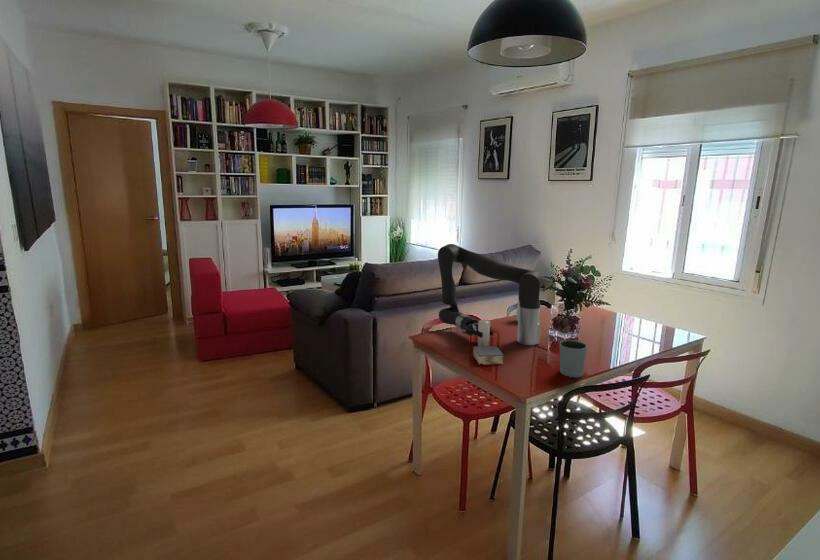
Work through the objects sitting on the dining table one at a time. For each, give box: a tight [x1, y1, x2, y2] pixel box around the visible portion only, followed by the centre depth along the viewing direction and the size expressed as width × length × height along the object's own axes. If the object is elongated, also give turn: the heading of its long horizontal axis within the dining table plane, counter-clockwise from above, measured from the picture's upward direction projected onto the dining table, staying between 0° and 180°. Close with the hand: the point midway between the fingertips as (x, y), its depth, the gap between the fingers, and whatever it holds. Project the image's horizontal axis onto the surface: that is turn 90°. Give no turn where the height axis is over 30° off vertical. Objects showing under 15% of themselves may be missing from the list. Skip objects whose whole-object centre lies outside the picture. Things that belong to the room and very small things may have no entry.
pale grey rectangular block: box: [477, 318, 491, 346], centre depth 204 cm, size 5×5×12 cm
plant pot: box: [558, 339, 588, 379], centre depth 177 cm, size 10×10×12 cm
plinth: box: [472, 345, 504, 366], centre depth 190 cm, size 10×10×4 cm
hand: (487, 334), depth 202 cm, fingers closed on pale grey rectangular block, 5 cm apart
